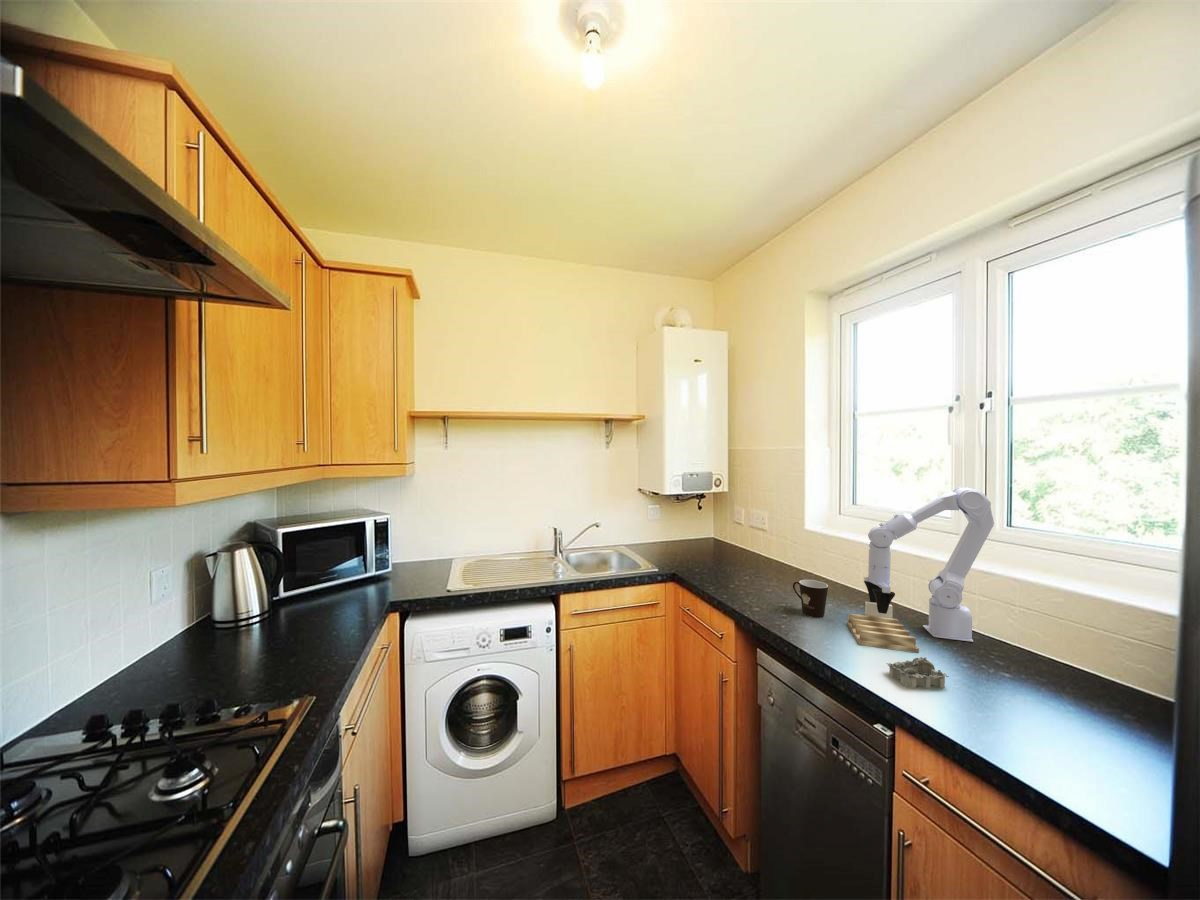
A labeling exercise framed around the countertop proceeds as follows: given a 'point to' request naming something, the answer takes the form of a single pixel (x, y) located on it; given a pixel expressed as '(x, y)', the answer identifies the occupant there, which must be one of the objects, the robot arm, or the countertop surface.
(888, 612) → the white block
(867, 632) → the dish rack
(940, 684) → the ruined castle model
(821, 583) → the coffee mug
